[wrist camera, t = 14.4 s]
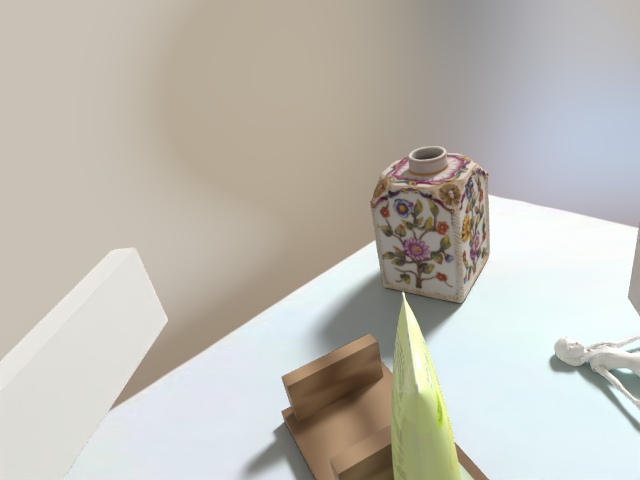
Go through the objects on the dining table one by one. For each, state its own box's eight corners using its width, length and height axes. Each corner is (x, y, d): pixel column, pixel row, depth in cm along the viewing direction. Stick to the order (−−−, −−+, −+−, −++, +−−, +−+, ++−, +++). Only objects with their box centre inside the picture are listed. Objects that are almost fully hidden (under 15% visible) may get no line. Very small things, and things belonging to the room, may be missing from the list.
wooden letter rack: (382, 370, 52) (374, 325, 49) (567, 578, 32) (573, 526, 29) (284, 421, 49) (269, 376, 46) (424, 689, 29) (415, 643, 26)
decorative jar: (492, 257, 67) (490, 135, 58) (464, 306, 59) (457, 174, 50) (413, 245, 73) (401, 135, 65) (380, 288, 65) (360, 169, 57)
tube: (488, 531, 34) (480, 329, 25) (443, 584, 32) (415, 383, 23) (429, 480, 39) (403, 290, 29) (385, 523, 36) (341, 333, 27)
